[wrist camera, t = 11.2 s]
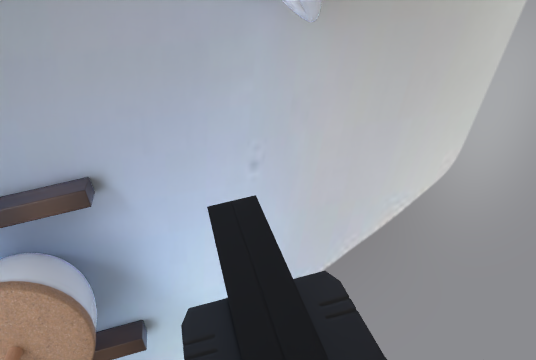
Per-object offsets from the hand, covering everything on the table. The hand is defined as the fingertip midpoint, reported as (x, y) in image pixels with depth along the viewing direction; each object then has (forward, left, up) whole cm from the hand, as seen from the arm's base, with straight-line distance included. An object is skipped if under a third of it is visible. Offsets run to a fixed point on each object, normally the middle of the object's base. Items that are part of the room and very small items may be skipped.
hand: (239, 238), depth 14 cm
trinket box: (-17, -15, -24) cm, 33 cm away
